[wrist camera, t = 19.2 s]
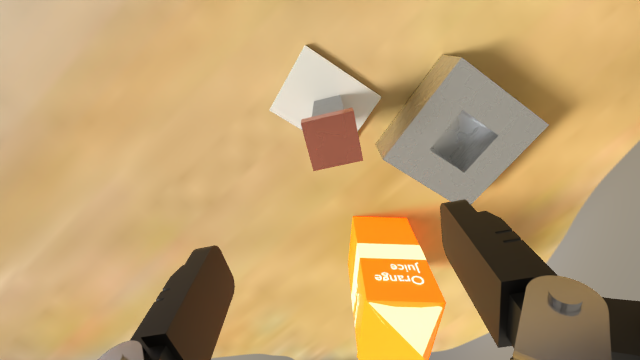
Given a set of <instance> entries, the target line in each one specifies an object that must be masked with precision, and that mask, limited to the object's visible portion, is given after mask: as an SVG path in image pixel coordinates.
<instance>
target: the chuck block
mask: <svg viewBox="0 0 640 360" xmlns="http://www.w3.org/2000/svg"><path fill="white" fill-rule="evenodd" d="M548 126H549V124H547V123H546V122H545V121H544V120H542V119H541V118H540V117H538V116H537V115H536V114H534V113H533V112H532V111H531V110H529V109H528V108H527V107H525V106H524V105H523V104H522V103H520V102H519V101H518V100H516V99H515V98H514V97H512V96H511V95H510V94H509V93H507V92H506V91H505V90H503V89H502V88H501V87H500V86H498V85H497V84H496V83H494V82H493V81H492V80H490V79H489V78H488V77H487V76H485V75H484V74H483V73H481V72H480V71H479V70H478V69H476V68H475V67H474V66H472V65H471V64H470V63H468V62H467V61H466V60H465V59H463V58H462V57H456V56H449V55H441V57H440V58H439V59H438V61H437V62H436V63H435V65H434V66H433V67H432V69H431V70H430V71H429V73H428V74H427V76H426V77H425V78H424V80H423V81H422V82H421V84H420V85H419V86H418V88H417V89H416V90H415V92H414V93H413V94H412V96H411V97H410V98H409V100H408V101H407V102H406V104H405V105H404V107H403V108H402V109H401V111H400V112H399V113H398V115H397V116H396V117H395V119H394V120H393V121H392V123H391V124H390V125H389V127H388V128H387V129H386V131H385V132H384V133H383V135H382V136H381V138H380V139H379V140H378V142H377V143H376V144H375V145H376V147H377V149H378V151H379V153H380V155H381V157H382V159H383V160H384V161H386V162H388V163H389V164H391V165H393V166H394V167H396V168H397V169H399V170H401V171H402V172H404V173H405V174H407V175H409V176H410V177H412V178H414V179H415V180H417V181H418V182H420V183H422V184H423V185H425V186H426V187H428V188H430V189H431V190H433V191H435V192H436V193H438V194H439V195H441V196H443V197H444V198H446V199H447V200H449V201H451V202H452V201H458V200H463V199H465V200H467V201H468V202H469V204H470V205H471V204H472V203H473V202H474V201H475V200H476V199H477V198H478V197H479V196H480V195H481V194H482V193H483V192H484V191H485V190H486V189H487V188H488V187H489V186H490V185H491V184H492V183H493V182H494V181H495V180H496V178H497V177H498V176H499V175H500V174H501V173H502V172H503V171H504V170H505V169H506V168H507V167H508V166H509V165H510V164H511V163H512V162H513V161H514V160H515V159H516V158H517V157H518V156H519V155H520V154H521V153H522V152H523V151H524V150H525V149H526V148H527V147H528V146H529V145H530V144H531V143H532V142H533V141H534V140H535V139H536V138H537V137H538V136H539V135H540V134H541V133H542V132H543V131H544V130H545V129H546V128H547V127H548Z"/></svg>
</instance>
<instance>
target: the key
mask: <svg viewBox="0 0 640 360" xmlns="http://www.w3.org/2000/svg"><path fill="white" fill-rule="evenodd" d="M301 126H302V130H303V134H304V137H305V141H306V145H307V148H308V152H309V156H310V160H311V163H312V167H313V171H316V170H321V169H325V168H330V167H335V166H339V165H344V164H349V163H353V162H358V161H363V158H362V152H361V147H360V142H359V136H358V131H357V126H356V120H355V115H354V110H353V108H347V109H344V107H343V103H342V100H341V97H340V95H338V96H334V97H330V98H325V99H321V100H317V101H314V104H313V111H312V117H309V118H305V119H302V120H301Z"/></svg>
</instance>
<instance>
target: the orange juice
mask: <svg viewBox="0 0 640 360" xmlns="http://www.w3.org/2000/svg"><path fill="white" fill-rule="evenodd" d="M348 268H349V277H350V286H351V298H352V308H353V314H354V323H355V332H356V341H357V350H358V353H357V358H358V359H359V360H429V357H430V354H431V350H432V347H433V344H434V340H435V337H436V334H437V331H438V327H439V324H440V321H441V317H442V314H443V311H444V308H445V304H446V302H445V300H444V298H443V296H442V293H441V291H440V289H439V287H438V285H437V283H436V280H435V278H434V276H433V274H432V272H431V270H430V268H429V265H428V263H427V261H426V258H425V256H424V254H423V251H422V249H421V247H420V245H419V244H418V242H417V240H416V237H415V235H414V233H413V231H412V229H411V227H410V224H409V222H408V220H407V218H388V217H358V216H353V219H352V230H351V240H350V251H349V261H348Z"/></svg>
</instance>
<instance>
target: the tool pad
mask: <svg viewBox="0 0 640 360" xmlns="http://www.w3.org/2000/svg"><path fill="white" fill-rule="evenodd" d="M338 95H340V97H341V100H342V103H343V107H344V109H347V108H353V110H354V115H355V120H356V126H357V131H358V130H359V129H360V127H361V126H362V125H363V123H364V122H365V120H366V119H367V117H368V116H369V115H370V113H371V112H372V110H373V109H374V107H375V106H376V105H377V103H378V102H379V100H380V99H381V96H380V95H378V94H377V93H375V92H374V91H372V90H371V89H370V88H368V87H367V86H365V85H364V84H362V83H361V82H359V81H358V80H356V79H355V78H353V77H352V76H350V75H349V74H347V73H346V72H344V71H343V70H341V69H340V68H339V67H337V66H336V65H334V64H333V63H331V62H330V61H328V60H327V59H325V58H324V57H322V56H321V55H319V54H318V53H316V52H315V51H313V50H312V49H310V48H309V47H308V46H306V45H305V46H304V48H303V50H302V51H301V53H300V55H299V57H298V59H297V61H296V62H295V64H294V66H293V68H292V70H291V72H290V73H289V75H288V77H287V79H286V81H285V83H284V84H283V86H282V88H281V90H280V92H279V93H278V95H277V97H276V99H275V101H274V103H273V104H272V106H271V108H270V111H271V112H273V113H275V114H276V115H278V116H280V117H281V118H283V119H285V120H286V121H288V122H290V123H291V124H293V125H295V126H296V127H298V128H300V129H301V130H302V126H301V120H302V119H305V118H309V117H312V111H313V104H314V101H317V100H321V99H325V98H330V97H334V96H338Z"/></svg>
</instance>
